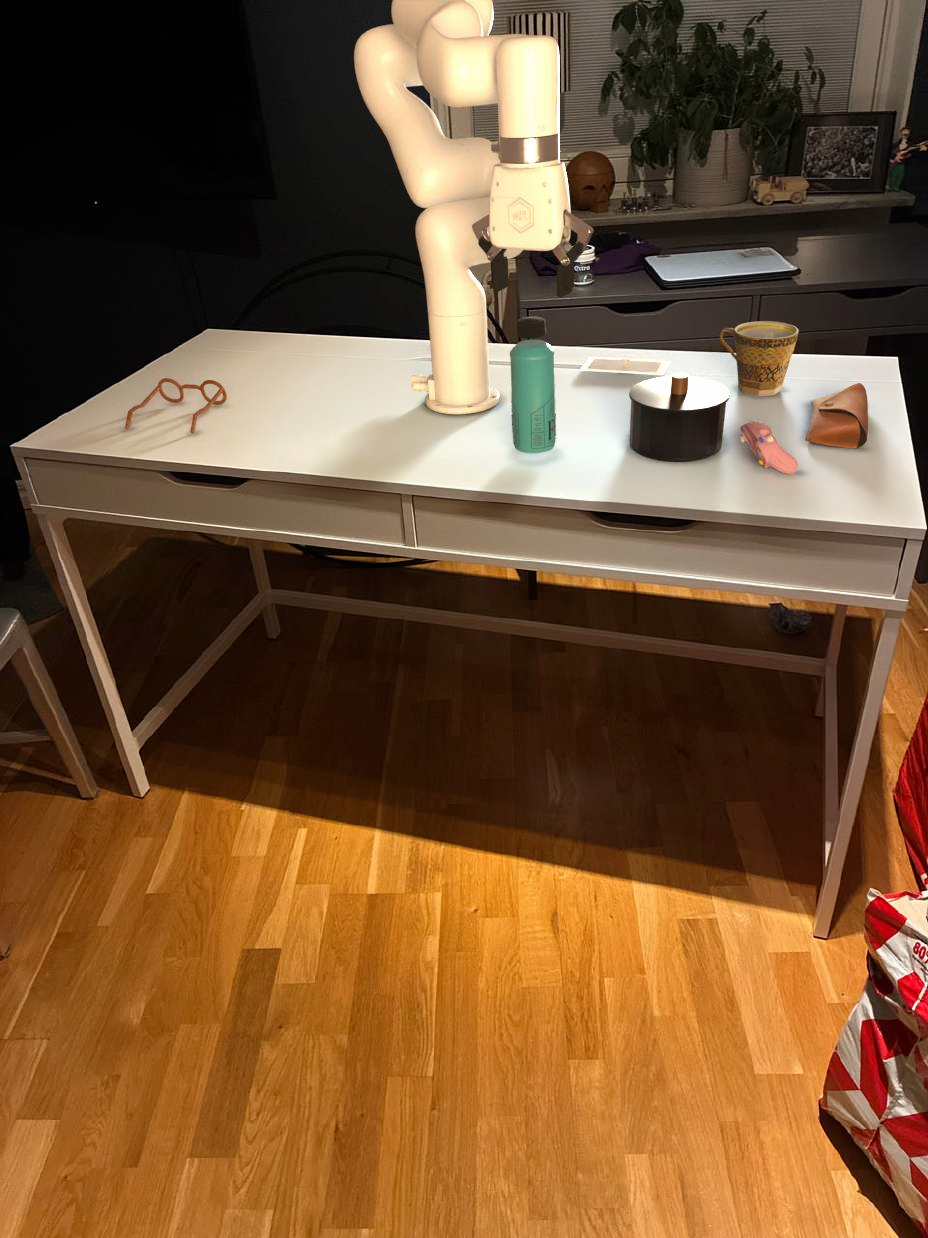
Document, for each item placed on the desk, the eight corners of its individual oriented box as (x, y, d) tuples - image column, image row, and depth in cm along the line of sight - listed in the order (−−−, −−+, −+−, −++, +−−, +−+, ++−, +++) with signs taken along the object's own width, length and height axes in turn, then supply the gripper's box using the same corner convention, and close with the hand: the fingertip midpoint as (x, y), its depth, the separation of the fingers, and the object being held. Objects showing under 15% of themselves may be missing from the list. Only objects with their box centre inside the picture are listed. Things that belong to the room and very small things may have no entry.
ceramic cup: (800, 386, 158) (809, 326, 152) (774, 403, 151) (782, 342, 146) (729, 373, 165) (735, 315, 159) (701, 389, 159) (706, 330, 153)
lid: (622, 414, 132) (623, 389, 131) (635, 381, 144) (636, 358, 142) (726, 419, 129) (728, 394, 127) (731, 385, 140) (733, 361, 138)
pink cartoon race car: (747, 459, 138) (730, 420, 134) (776, 443, 137) (759, 404, 133) (771, 487, 129) (754, 447, 126) (802, 471, 128) (785, 430, 125)
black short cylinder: (623, 459, 136) (625, 409, 132) (636, 425, 147) (638, 378, 143) (718, 465, 133) (723, 414, 129) (724, 429, 144) (728, 381, 140)
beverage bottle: (553, 463, 136) (552, 325, 126) (508, 462, 138) (503, 325, 127) (558, 446, 142) (558, 311, 131) (515, 445, 143) (511, 312, 132)
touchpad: (663, 381, 163) (664, 368, 162) (579, 376, 168) (579, 364, 167) (670, 366, 169) (671, 354, 168) (589, 362, 174) (589, 350, 173)
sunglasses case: (808, 399, 151) (836, 364, 147) (844, 422, 151) (873, 389, 147) (804, 442, 137) (835, 405, 132) (844, 468, 137) (877, 432, 133)
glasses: (230, 406, 165) (224, 378, 162) (193, 434, 154) (186, 405, 152) (164, 403, 168) (158, 375, 166) (123, 430, 158) (116, 401, 155)
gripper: (455, 155, 119) (463, 293, 128) (579, 155, 111) (578, 303, 120) (484, 147, 124) (490, 281, 133) (605, 147, 116) (602, 289, 125)
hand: (532, 291), depth 127 cm, fingers open, 9 cm apart
